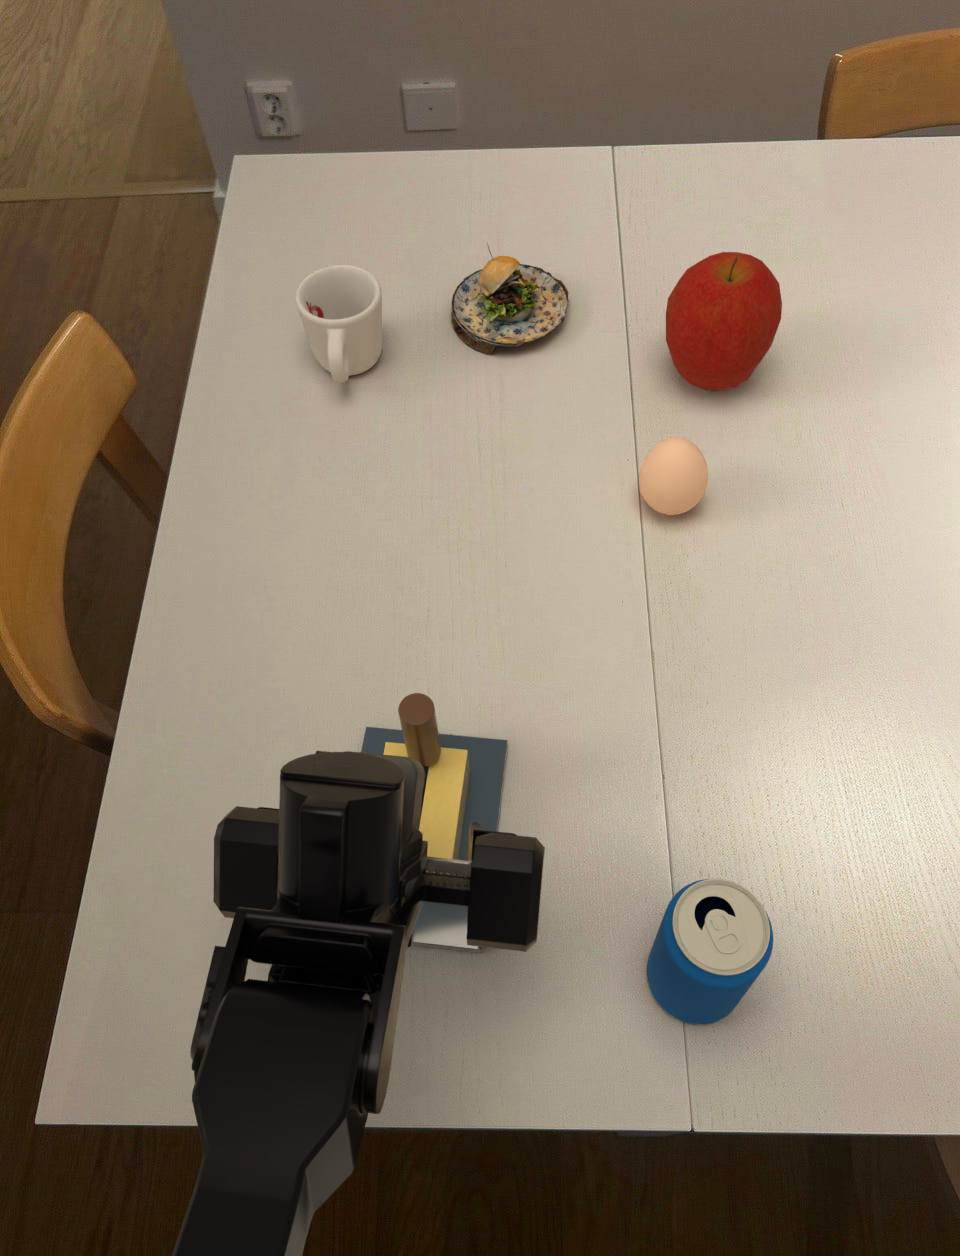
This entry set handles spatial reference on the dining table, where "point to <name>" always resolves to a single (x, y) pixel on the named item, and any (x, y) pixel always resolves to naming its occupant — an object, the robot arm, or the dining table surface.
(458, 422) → the dining table surface
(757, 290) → the apple
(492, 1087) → the dining table surface
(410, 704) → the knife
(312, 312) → the cup
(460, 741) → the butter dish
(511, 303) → the burger
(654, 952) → the beverage can
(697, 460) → the egg
